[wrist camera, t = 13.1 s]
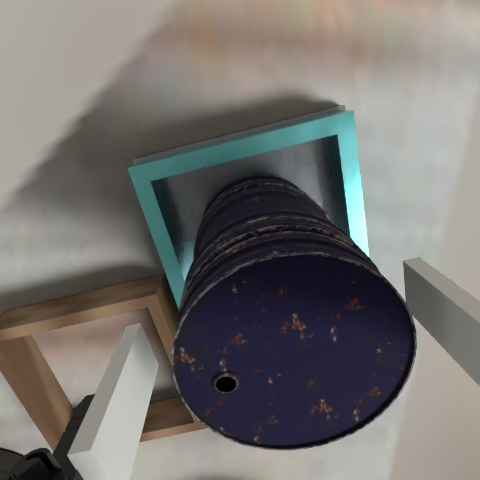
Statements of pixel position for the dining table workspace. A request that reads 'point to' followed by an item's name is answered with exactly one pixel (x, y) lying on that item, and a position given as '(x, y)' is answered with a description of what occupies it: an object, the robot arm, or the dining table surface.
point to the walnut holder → (74, 312)
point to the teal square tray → (246, 164)
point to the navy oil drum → (286, 323)
